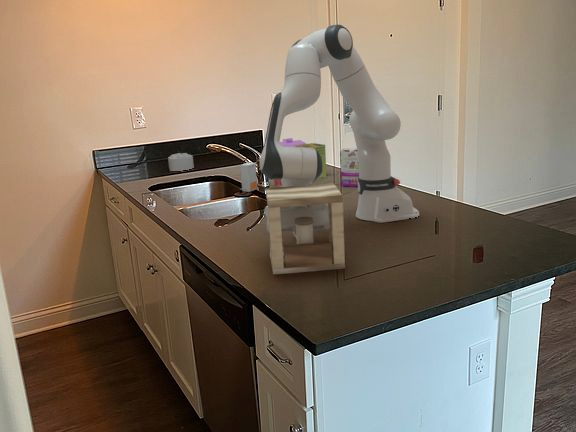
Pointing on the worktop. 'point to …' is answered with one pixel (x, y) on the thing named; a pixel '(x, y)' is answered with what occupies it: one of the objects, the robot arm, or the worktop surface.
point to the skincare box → (248, 177)
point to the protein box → (322, 152)
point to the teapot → (291, 142)
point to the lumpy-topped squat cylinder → (180, 162)
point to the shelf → (310, 253)
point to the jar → (304, 230)
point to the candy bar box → (349, 167)
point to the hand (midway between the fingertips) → (303, 242)
